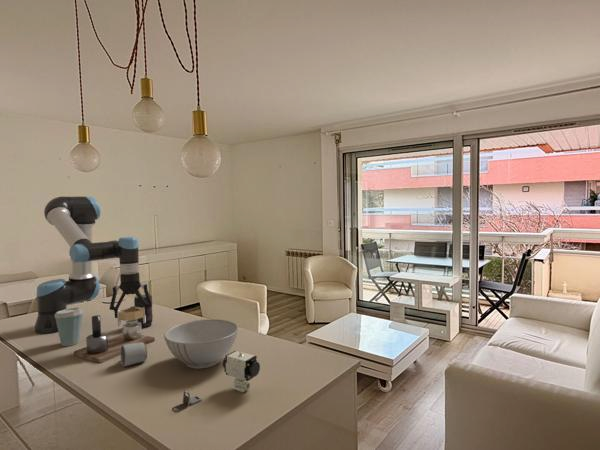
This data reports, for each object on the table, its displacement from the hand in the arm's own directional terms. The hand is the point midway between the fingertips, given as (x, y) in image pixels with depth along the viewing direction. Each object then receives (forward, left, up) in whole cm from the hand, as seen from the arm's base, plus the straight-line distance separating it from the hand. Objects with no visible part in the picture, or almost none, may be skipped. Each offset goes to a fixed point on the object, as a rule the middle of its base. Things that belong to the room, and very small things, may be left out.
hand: (132, 323), depth 160 cm
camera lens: (-13, +17, -8) cm, 23 cm away
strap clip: (+60, -27, -8) cm, 66 cm away
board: (0, -8, -8) cm, 11 cm away
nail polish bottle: (0, -16, -6) cm, 17 cm away
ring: (0, 0, +3) cm, 3 cm away
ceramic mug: (+19, -15, -8) cm, 25 cm away
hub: (0, 0, -6) cm, 6 cm away
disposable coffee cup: (-23, -13, -8) cm, 28 cm away
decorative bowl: (+43, -2, -8) cm, 44 cm away
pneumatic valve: (+69, -13, -8) cm, 71 cm away
